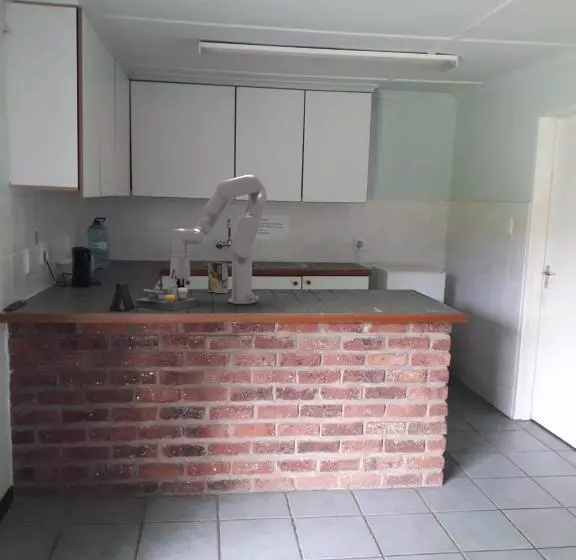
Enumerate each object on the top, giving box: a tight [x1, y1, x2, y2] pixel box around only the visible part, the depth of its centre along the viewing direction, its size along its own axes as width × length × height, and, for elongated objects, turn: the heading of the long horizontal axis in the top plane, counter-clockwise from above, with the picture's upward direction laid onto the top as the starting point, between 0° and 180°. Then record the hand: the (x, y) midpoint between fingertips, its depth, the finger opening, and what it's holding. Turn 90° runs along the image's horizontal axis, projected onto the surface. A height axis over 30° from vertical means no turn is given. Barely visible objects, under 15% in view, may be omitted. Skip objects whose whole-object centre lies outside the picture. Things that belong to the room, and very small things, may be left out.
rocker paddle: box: [143, 288, 164, 295], centre depth 273 cm, size 5×9×2 cm, turn 152°
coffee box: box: [207, 261, 229, 294], centre depth 309 cm, size 9×6×16 cm
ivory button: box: [177, 287, 189, 300], centre depth 271 cm, size 4×4×5 cm
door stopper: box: [109, 281, 136, 312], centre depth 259 cm, size 9×6×12 cm, turn 78°
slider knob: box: [166, 284, 178, 297], centre depth 275 cm, size 3×3×5 cm
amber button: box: [164, 294, 175, 303], centre depth 263 cm, size 4×4×5 cm
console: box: [134, 293, 198, 312], centre depth 270 cm, size 22×17×4 cm
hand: (180, 293), depth 281 cm, fingers closed
